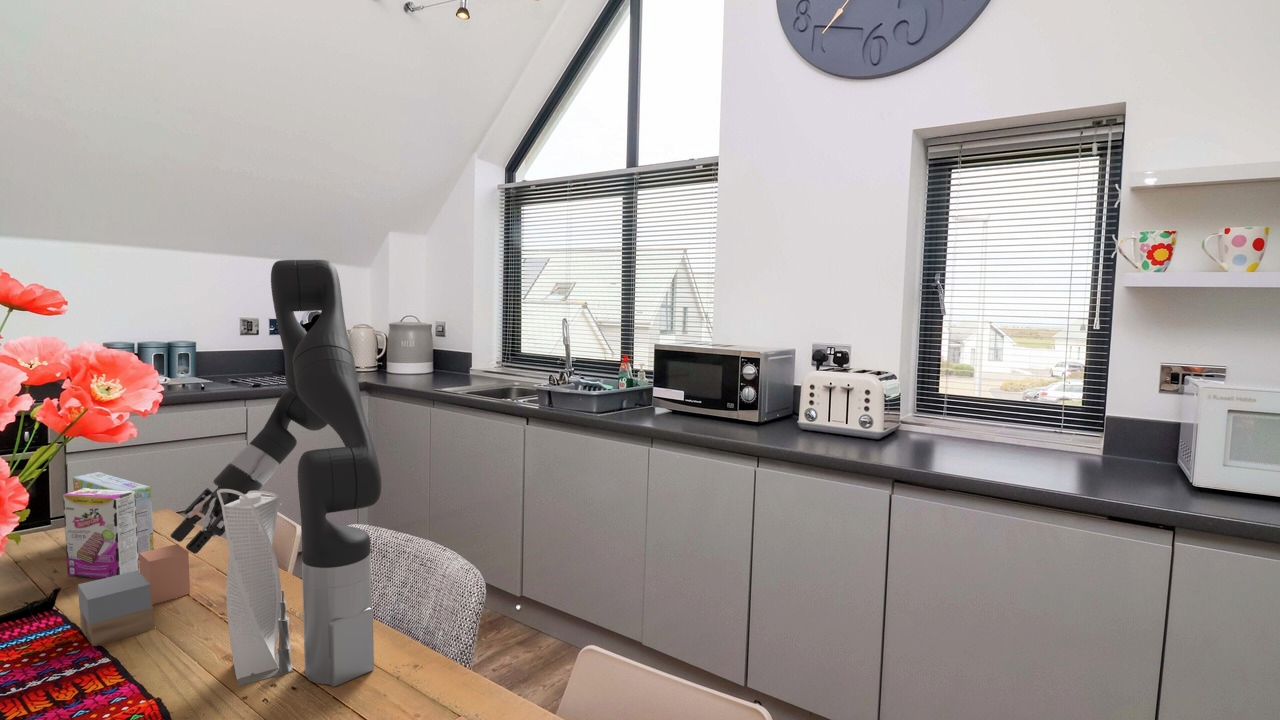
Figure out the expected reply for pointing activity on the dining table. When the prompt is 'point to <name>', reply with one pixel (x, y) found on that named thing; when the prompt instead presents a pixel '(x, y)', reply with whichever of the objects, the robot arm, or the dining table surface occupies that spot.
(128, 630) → the walnut block
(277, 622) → the twisted tower model
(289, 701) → the dining table surface
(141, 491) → the snack box
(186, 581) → the salmon orange block
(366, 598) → the robot arm
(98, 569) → the candy bar box
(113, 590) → the gray block
